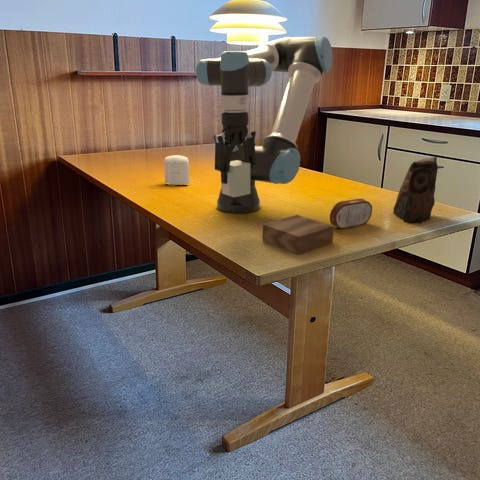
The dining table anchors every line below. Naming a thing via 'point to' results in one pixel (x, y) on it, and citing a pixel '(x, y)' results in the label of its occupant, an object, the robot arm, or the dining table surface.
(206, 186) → the dining table surface
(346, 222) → the tin
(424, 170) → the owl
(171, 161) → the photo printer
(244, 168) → the sage block
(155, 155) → the dining table surface
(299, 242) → the walnut board
